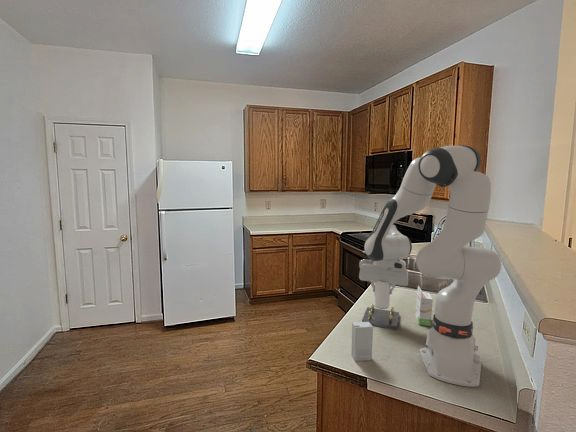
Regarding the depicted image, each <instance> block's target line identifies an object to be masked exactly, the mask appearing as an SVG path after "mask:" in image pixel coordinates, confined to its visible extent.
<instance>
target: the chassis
mask: <svg viewBox="0 0 576 432" xmlns="http://www.w3.org/2000/svg"><path fill="white" fill-rule="evenodd" d="M394 309H395V307H394V306H391V307H390V310H387V309H379V308H376V307H375V306H374V303H371V307H370V306H369V307H366V309H365V312H364V314H363V316H362V319H361V322H369V323H370V324H371V325H372V326H373V327H374V326H375V327H380V328H386V329H391V330H394V331H395V330H398V324H399V323H398V322H399V317H400V312H399V311H395V310H394Z"/></svg>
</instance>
